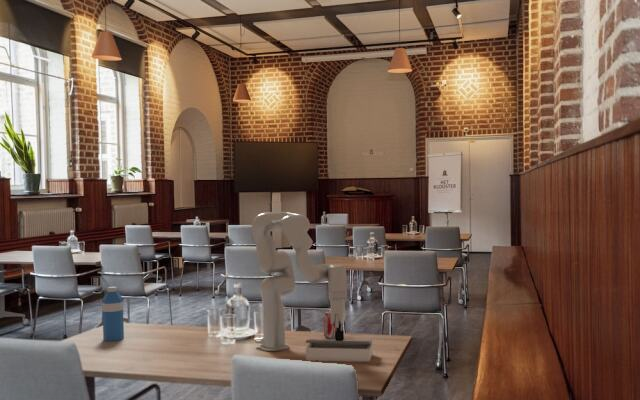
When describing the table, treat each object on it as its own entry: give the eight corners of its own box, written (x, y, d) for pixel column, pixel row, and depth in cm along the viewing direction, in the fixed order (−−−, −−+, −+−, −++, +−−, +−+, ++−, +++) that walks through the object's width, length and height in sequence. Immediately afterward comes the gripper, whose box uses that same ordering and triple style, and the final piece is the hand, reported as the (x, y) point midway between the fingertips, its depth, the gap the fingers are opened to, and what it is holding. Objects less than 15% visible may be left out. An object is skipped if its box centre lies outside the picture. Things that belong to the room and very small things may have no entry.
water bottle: (103, 337, 305) (102, 286, 304) (123, 336, 308) (122, 285, 307) (103, 342, 296) (101, 289, 296) (123, 340, 299) (122, 287, 298)
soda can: (337, 339, 291) (336, 313, 291) (322, 338, 293) (321, 313, 293) (339, 335, 298) (339, 310, 298) (325, 335, 300) (324, 310, 300)
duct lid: (305, 342, 256) (306, 340, 257) (311, 341, 267) (311, 338, 267) (369, 344, 252) (369, 341, 252) (372, 342, 263) (372, 340, 263)
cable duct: (306, 360, 256) (306, 348, 256) (311, 353, 267) (311, 341, 267) (369, 361, 252) (369, 349, 252) (372, 354, 263) (372, 342, 263)
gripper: (331, 292, 264) (333, 336, 264) (325, 298, 249) (327, 344, 249) (349, 292, 263) (351, 336, 263) (344, 298, 248) (346, 344, 248)
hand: (339, 340), depth 256 cm, fingers closed
